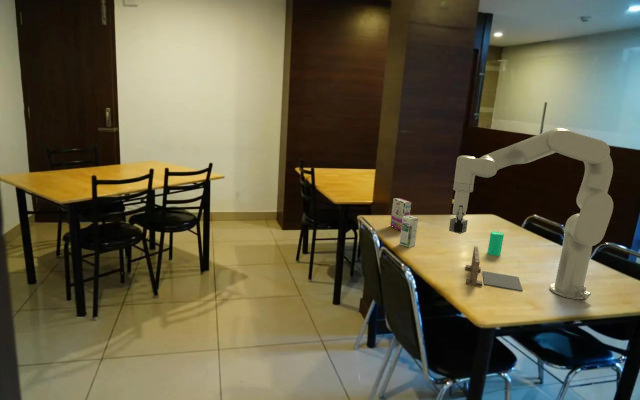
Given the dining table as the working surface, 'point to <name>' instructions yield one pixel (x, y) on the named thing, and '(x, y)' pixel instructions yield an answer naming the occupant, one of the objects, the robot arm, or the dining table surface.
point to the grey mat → (502, 281)
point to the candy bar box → (399, 212)
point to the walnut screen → (474, 269)
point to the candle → (495, 243)
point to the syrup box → (408, 231)
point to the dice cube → (452, 222)
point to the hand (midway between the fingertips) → (457, 229)
